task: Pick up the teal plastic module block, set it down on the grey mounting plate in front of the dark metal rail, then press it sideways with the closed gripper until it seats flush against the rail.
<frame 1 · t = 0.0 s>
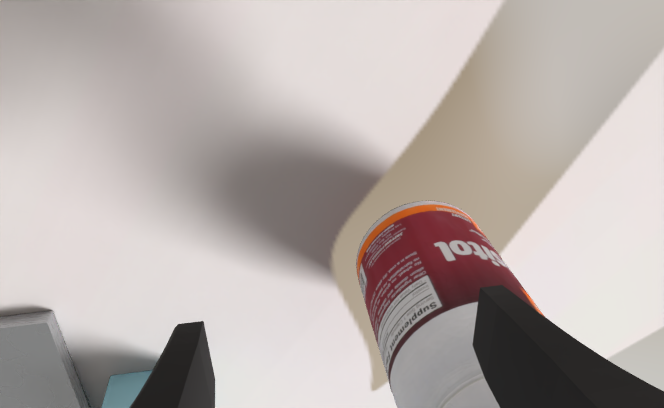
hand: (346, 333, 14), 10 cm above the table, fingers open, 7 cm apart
module: (161, 403, 28), on the table
pill bottle: (415, 249, 26), on the table
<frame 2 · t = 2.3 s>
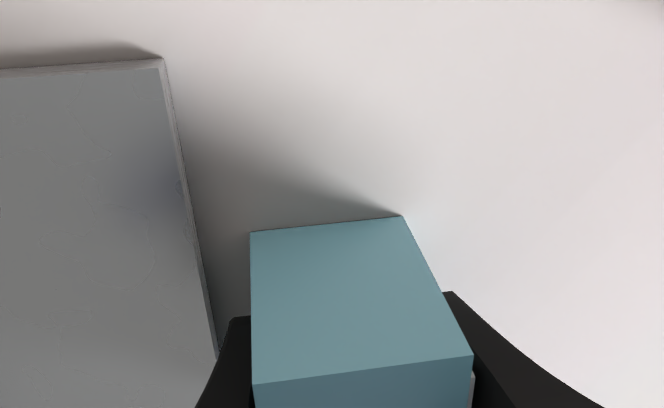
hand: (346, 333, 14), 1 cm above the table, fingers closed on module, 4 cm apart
module: (330, 299, 15), on the table, touching gripper
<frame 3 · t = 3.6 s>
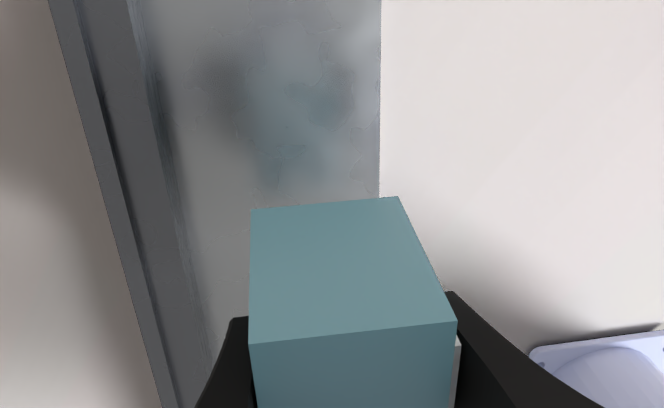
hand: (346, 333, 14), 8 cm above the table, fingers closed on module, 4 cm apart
module: (328, 276, 16), point 6 cm above the table, touching gripper
rail board: (256, 259, 22), on the table
when the fingers open (3 cm above the table, at t = 4.9 s): module stays where it is, resting on rail board.
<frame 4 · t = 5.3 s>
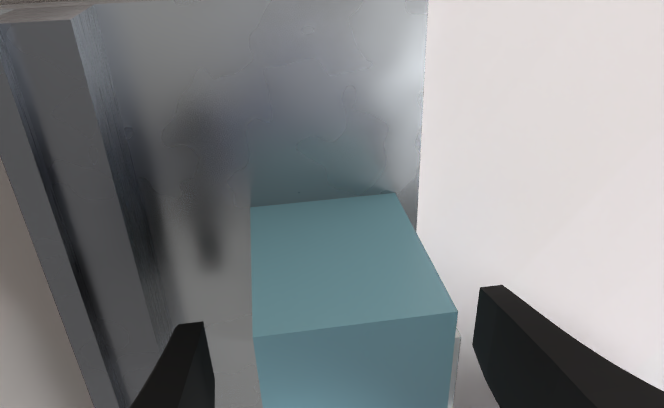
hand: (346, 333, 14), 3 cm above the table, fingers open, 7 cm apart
module: (327, 273, 16), point 1 cm above the table, touching rail board
rail board: (258, 343, 18), on the table
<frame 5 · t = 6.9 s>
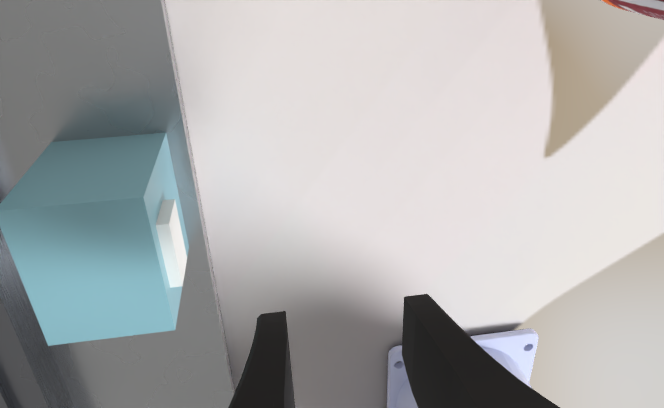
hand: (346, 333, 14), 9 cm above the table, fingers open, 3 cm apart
module: (125, 197, 20), point 1 cm above the table, touching rail board
rail board: (88, 260, 22), on the table
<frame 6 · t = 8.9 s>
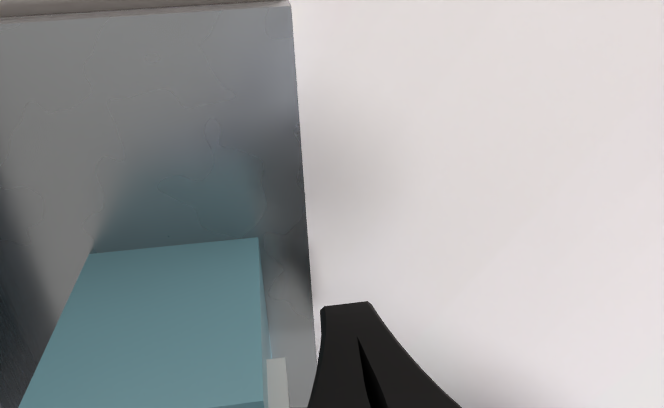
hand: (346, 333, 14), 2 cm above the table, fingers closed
module: (191, 323, 14), point 1 cm above the table, touching gripper, rail board
rail board: (152, 393, 16), on the table
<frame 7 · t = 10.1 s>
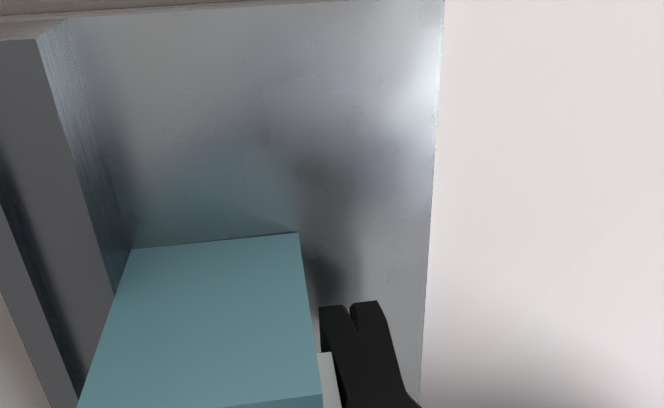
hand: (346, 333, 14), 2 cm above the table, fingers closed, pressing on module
module: (229, 319, 14), point 1 cm above the table, touching gripper, rail board
rail board: (256, 378, 16), on the table
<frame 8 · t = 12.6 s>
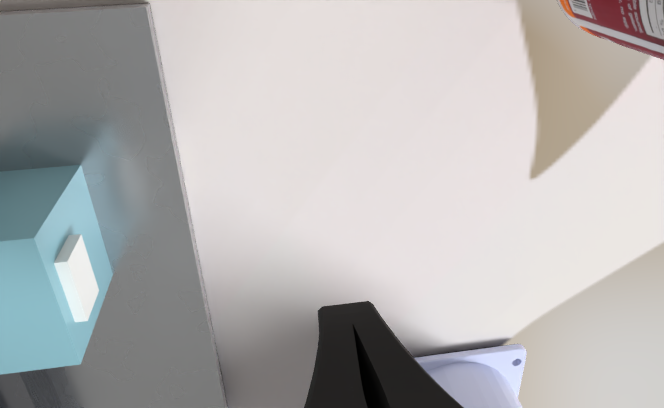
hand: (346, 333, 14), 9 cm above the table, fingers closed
module: (44, 228, 20), point 1 cm above the table, touching rail board
rail board: (82, 280, 23), on the table
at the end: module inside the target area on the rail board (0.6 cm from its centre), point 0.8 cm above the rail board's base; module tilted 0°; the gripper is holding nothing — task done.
